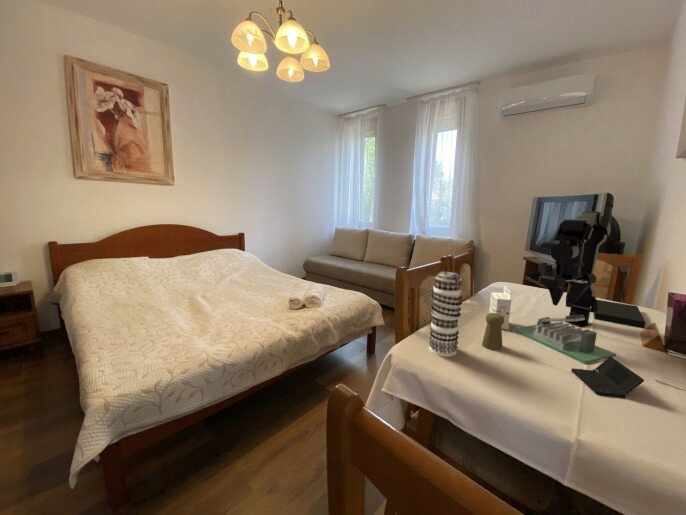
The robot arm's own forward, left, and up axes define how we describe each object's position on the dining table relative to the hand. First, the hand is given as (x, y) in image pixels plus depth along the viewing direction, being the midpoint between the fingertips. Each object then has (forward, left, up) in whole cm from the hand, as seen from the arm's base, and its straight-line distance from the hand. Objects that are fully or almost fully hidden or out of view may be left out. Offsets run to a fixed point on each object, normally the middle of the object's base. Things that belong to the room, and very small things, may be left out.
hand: (564, 303), depth 97 cm
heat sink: (+2, +2, -12) cm, 12 cm away
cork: (+26, -3, -13) cm, 29 cm away
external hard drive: (-46, -8, -14) cm, 49 cm away
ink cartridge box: (+10, -16, -13) cm, 23 cm away
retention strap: (+2, +1, -5) cm, 6 cm away
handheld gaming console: (+15, +22, -13) cm, 29 cm away
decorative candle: (+43, -6, -13) cm, 45 cm away
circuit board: (+2, +2, -13) cm, 13 cm away
